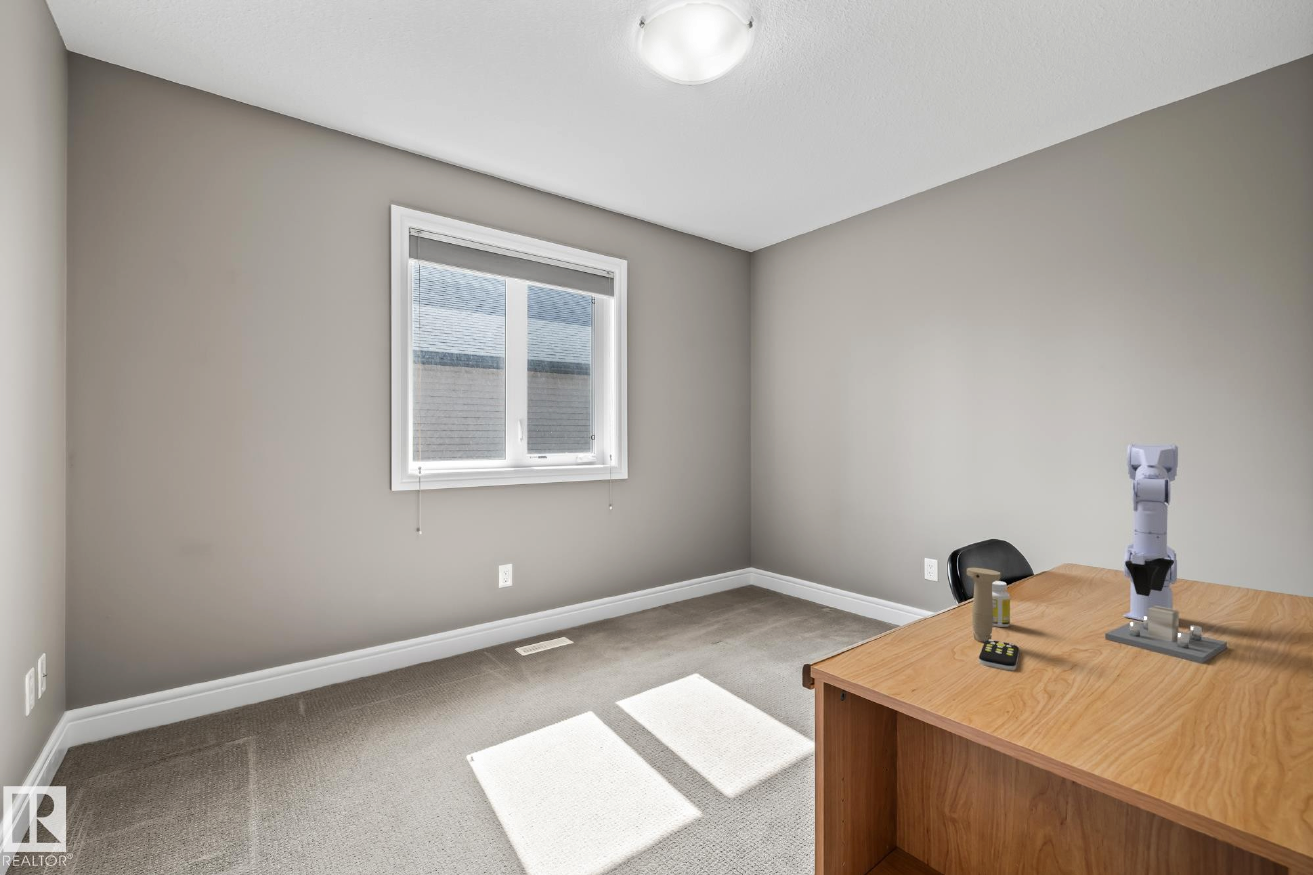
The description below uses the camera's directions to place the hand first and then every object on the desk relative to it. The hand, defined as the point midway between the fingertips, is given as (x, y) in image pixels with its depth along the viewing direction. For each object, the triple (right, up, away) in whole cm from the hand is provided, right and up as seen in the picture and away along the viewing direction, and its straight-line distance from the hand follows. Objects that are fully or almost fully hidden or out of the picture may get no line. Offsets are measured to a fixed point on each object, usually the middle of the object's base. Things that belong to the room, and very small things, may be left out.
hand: (1149, 592), depth 131 cm
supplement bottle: (-31, -9, +6) cm, 33 cm away
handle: (-40, -9, -5) cm, 41 cm away
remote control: (-42, -10, -14) cm, 45 cm away
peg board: (-1, -9, -5) cm, 11 cm away
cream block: (-1, -8, -5) cm, 10 cm away
